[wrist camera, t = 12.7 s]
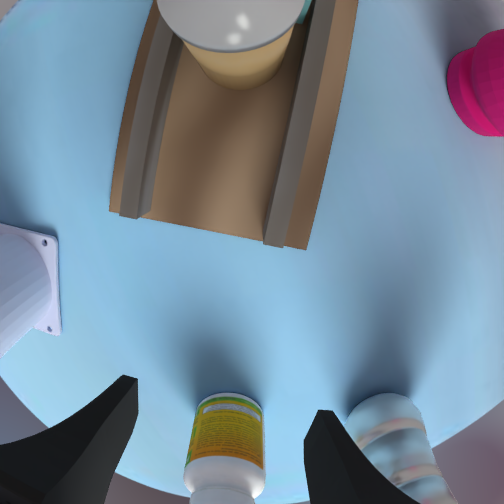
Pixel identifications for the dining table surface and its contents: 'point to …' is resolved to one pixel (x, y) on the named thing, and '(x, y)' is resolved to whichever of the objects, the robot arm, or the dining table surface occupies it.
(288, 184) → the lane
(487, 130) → the pepper mill
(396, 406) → the plastic bottle
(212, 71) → the jar
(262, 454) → the supplement bottle
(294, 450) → the dining table surface
